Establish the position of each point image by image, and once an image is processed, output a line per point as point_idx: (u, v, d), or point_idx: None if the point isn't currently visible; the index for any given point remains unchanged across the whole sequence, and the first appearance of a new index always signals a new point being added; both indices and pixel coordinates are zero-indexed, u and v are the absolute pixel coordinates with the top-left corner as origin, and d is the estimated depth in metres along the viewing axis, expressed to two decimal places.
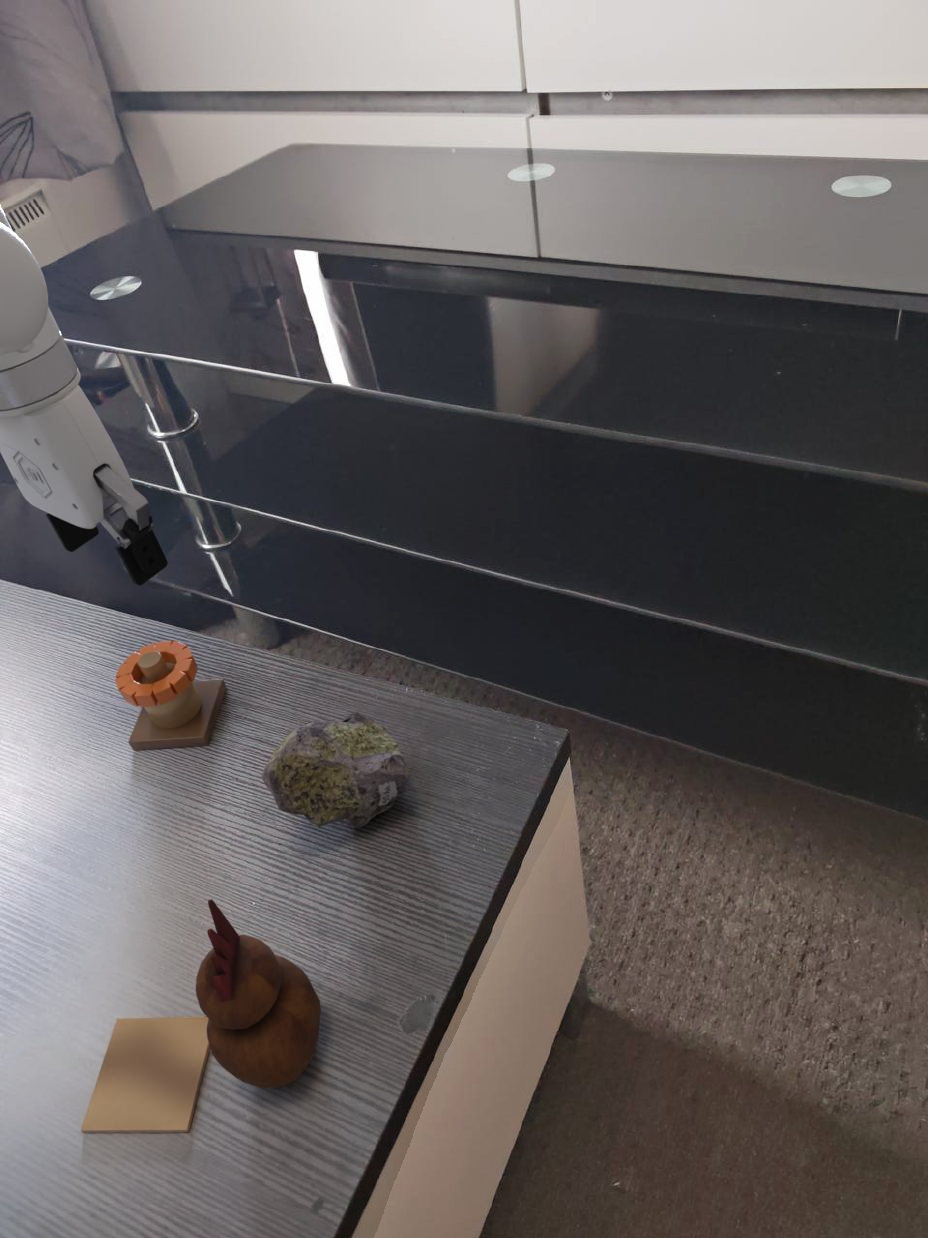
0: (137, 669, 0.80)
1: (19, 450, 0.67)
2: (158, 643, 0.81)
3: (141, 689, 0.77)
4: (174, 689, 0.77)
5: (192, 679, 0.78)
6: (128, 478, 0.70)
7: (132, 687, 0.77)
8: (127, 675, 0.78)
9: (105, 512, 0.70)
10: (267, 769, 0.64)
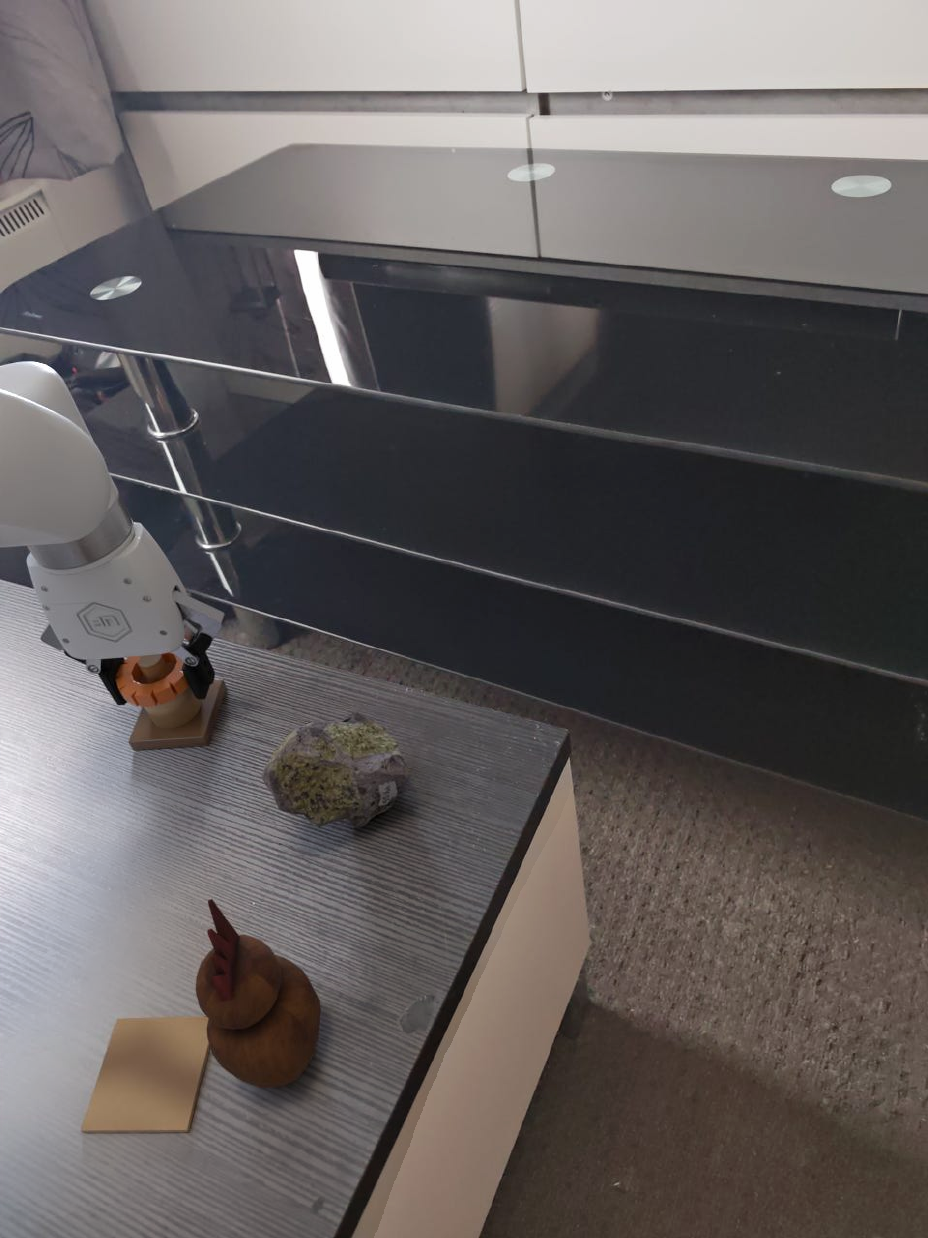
0: (137, 669, 0.80)
1: (94, 600, 0.70)
2: None
3: (141, 689, 0.77)
4: (174, 689, 0.77)
5: None
6: (187, 595, 0.75)
7: (132, 687, 0.77)
8: (127, 675, 0.78)
9: None
10: (267, 769, 0.64)
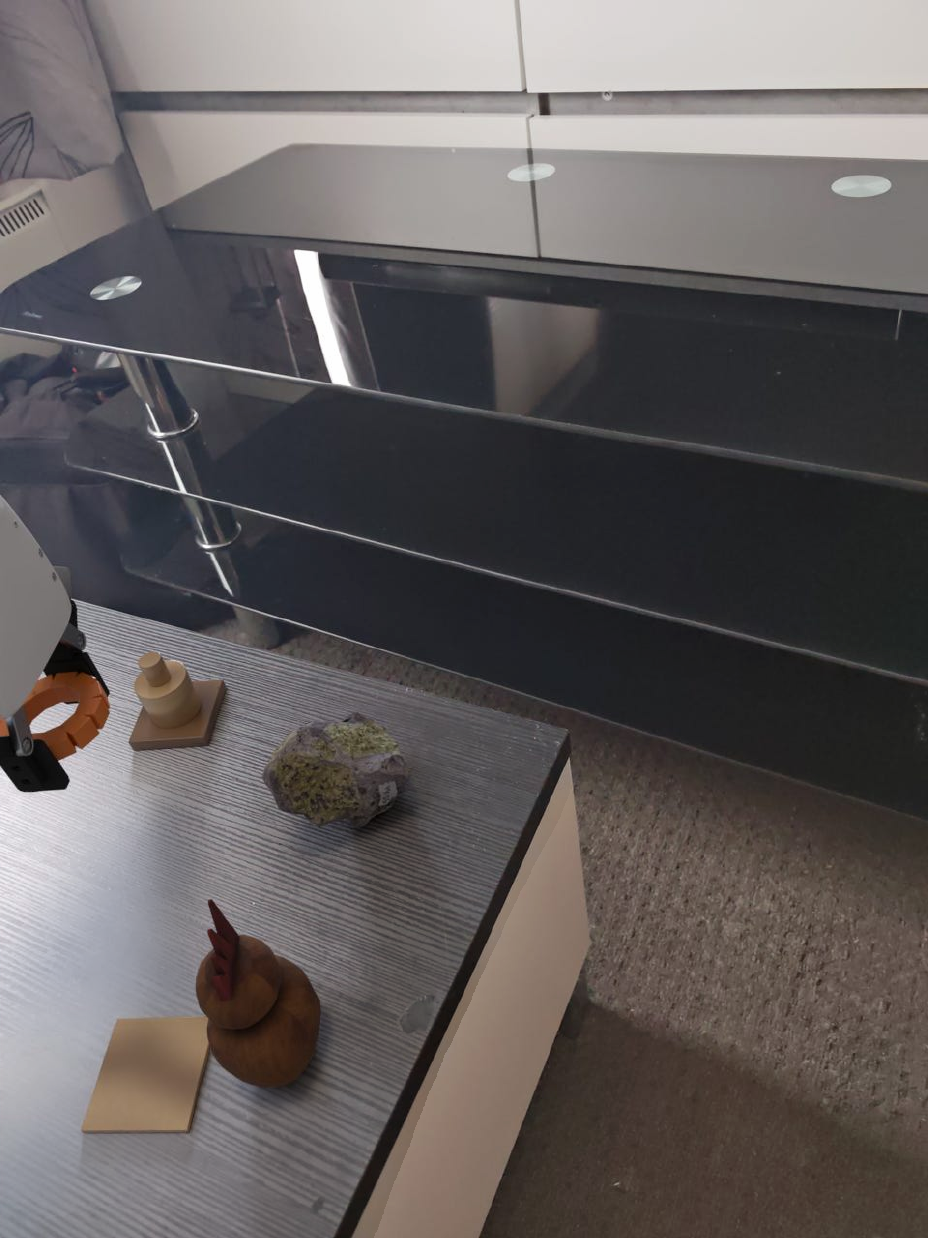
0: (70, 692, 0.58)
1: None
2: (96, 699, 0.57)
3: None
4: None
5: None
6: None
7: None
8: (49, 685, 0.58)
9: None
10: (267, 769, 0.64)
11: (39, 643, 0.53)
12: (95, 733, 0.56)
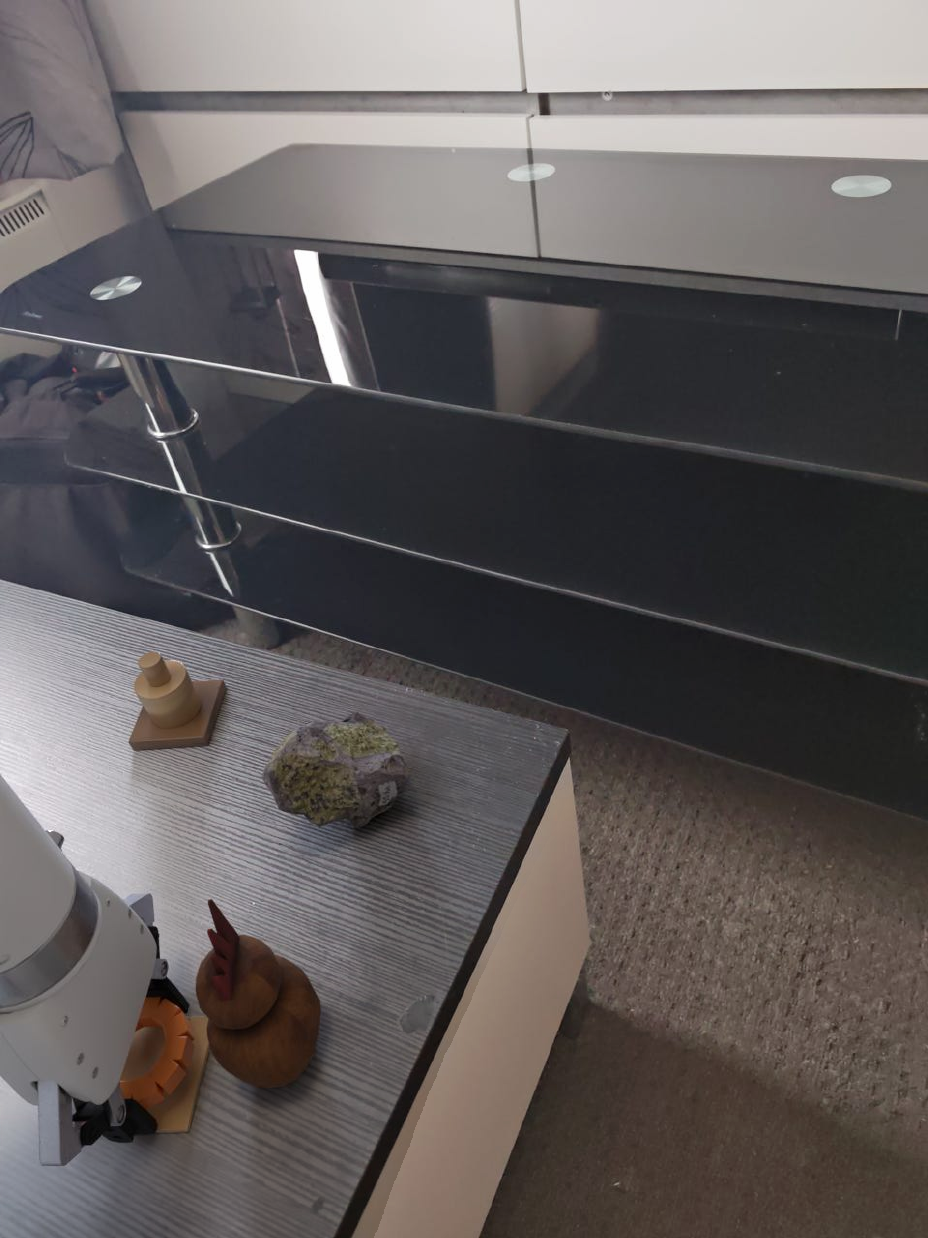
0: (154, 1022, 0.59)
1: None
2: (182, 1039, 0.57)
3: None
4: None
5: None
6: (91, 1094, 0.49)
7: None
8: None
9: None
10: (267, 769, 0.64)
11: (131, 1011, 0.53)
12: (182, 1076, 0.56)
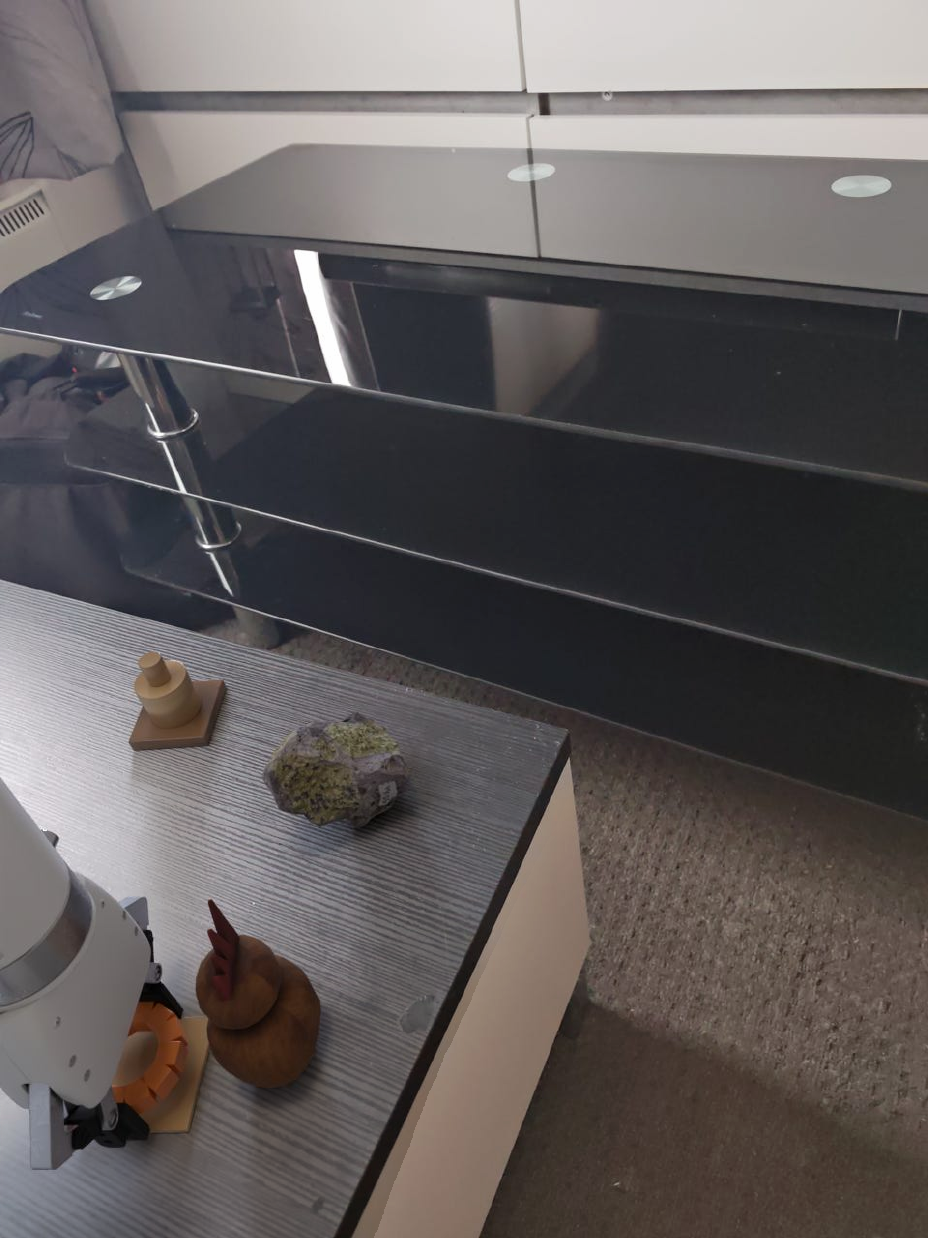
0: (147, 1026, 0.58)
1: None
2: (175, 1044, 0.56)
3: None
4: None
5: None
6: (82, 1097, 0.49)
7: None
8: None
9: None
10: (267, 769, 0.64)
11: (124, 1014, 0.52)
12: (175, 1081, 0.56)
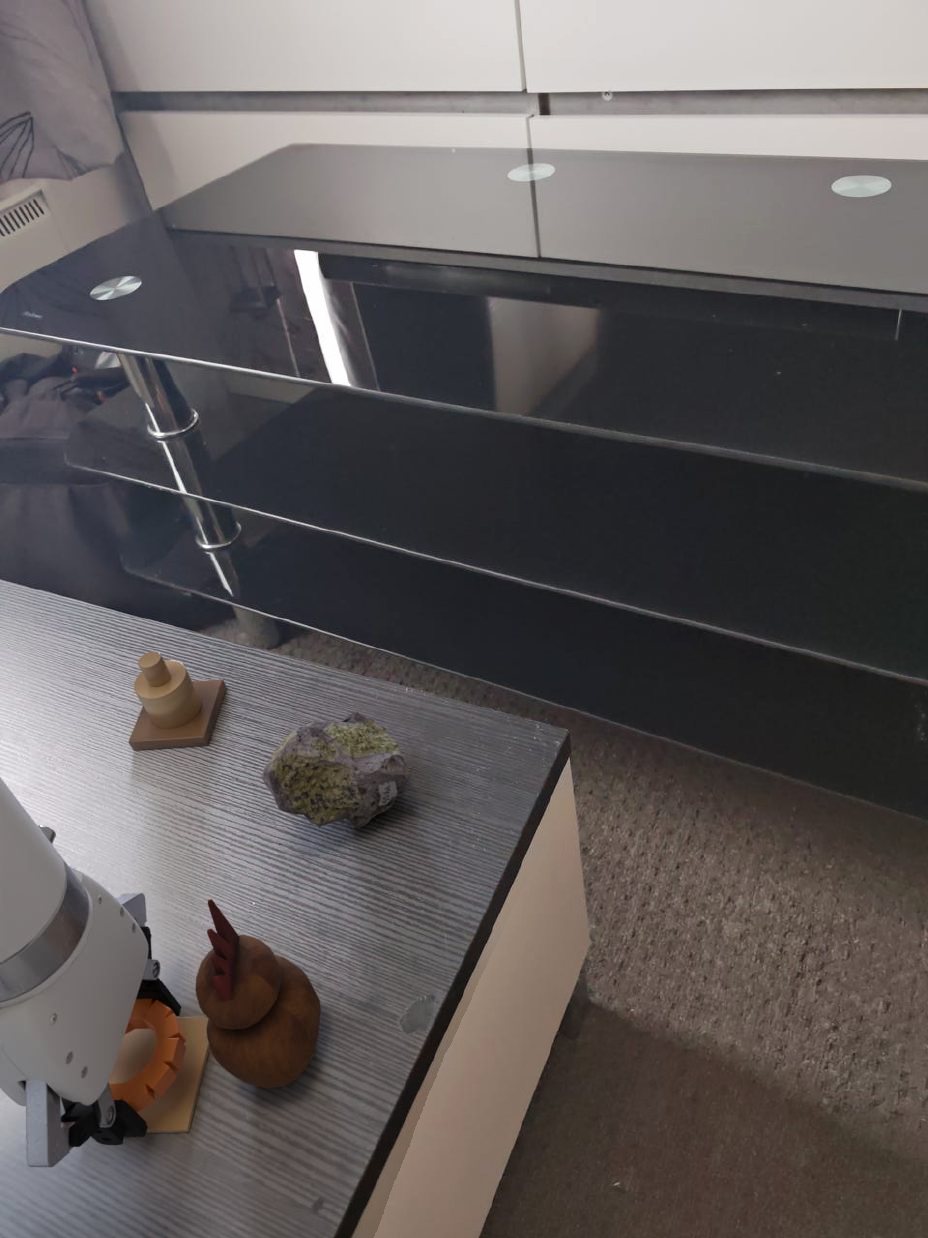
0: (145, 1023, 0.58)
1: None
2: (173, 1041, 0.56)
3: None
4: None
5: None
6: (79, 1094, 0.48)
7: None
8: None
9: None
10: (267, 769, 0.64)
11: (121, 1010, 0.52)
12: (173, 1078, 0.56)
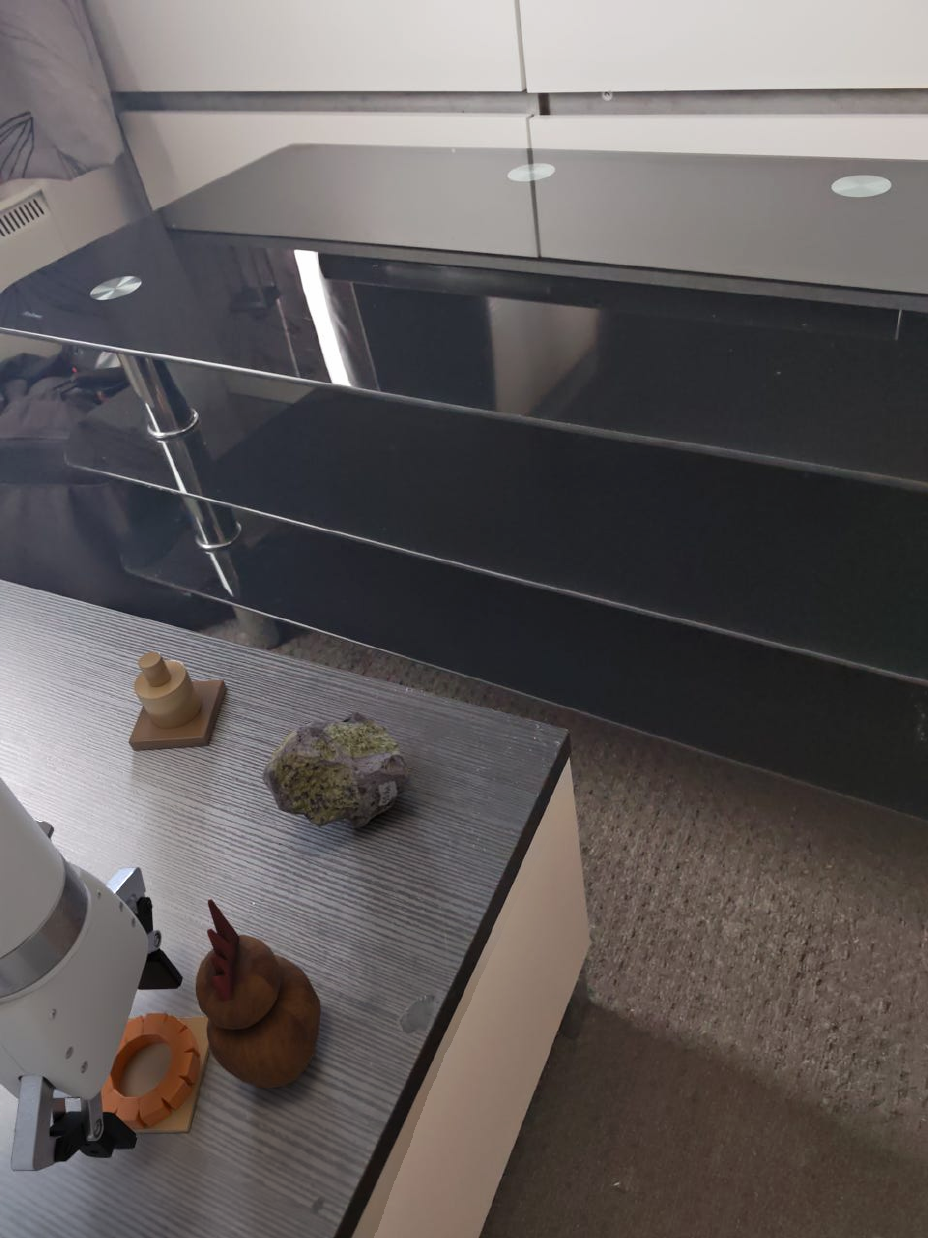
0: (160, 1038, 0.60)
1: None
2: (188, 1055, 0.58)
3: None
4: None
5: None
6: (80, 1088, 0.48)
7: None
8: (140, 1030, 0.60)
9: None
10: (267, 769, 0.64)
11: (121, 1005, 0.52)
12: (188, 1092, 0.57)
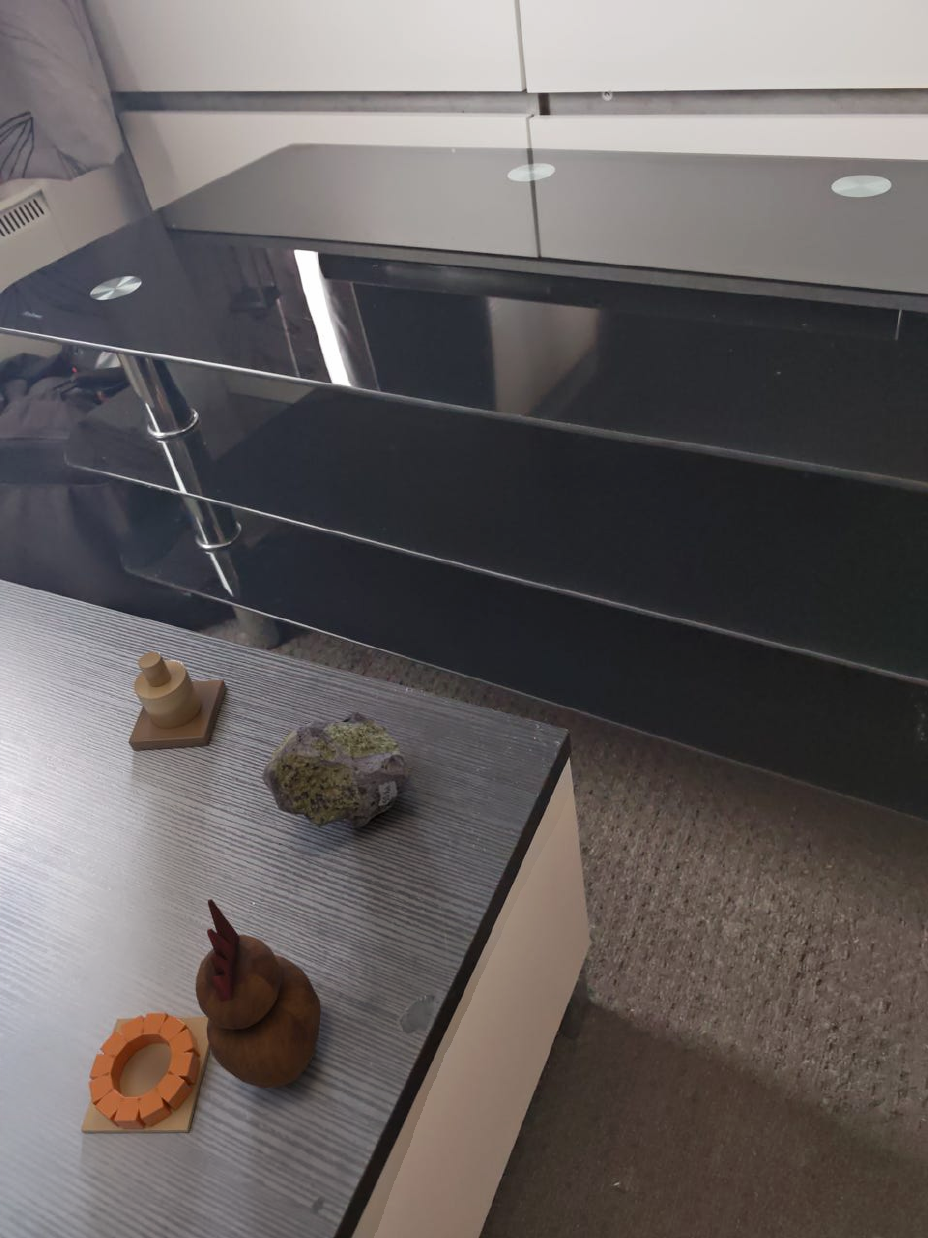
0: (160, 1038, 0.60)
1: None
2: (188, 1055, 0.58)
3: (104, 1060, 0.58)
4: None
5: (122, 1127, 0.56)
6: None
7: (114, 1045, 0.59)
8: (140, 1030, 0.60)
9: None
10: (267, 769, 0.64)
11: None
12: (188, 1092, 0.57)
